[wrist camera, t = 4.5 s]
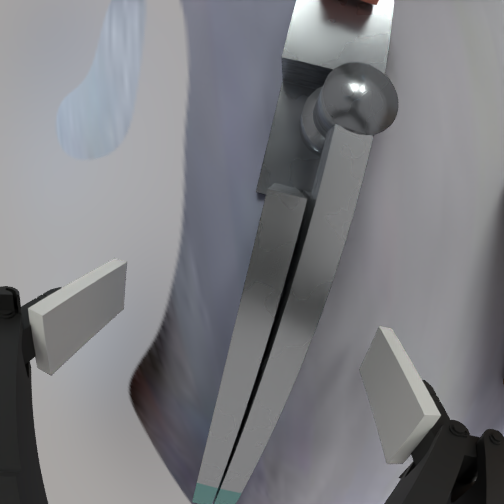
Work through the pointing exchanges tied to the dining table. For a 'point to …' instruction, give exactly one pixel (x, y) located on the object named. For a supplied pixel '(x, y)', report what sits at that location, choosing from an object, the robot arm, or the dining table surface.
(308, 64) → the base
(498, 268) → the dining table surface
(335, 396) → the dining table surface
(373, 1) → the tab
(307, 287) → the jaw
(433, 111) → the dining table surface
